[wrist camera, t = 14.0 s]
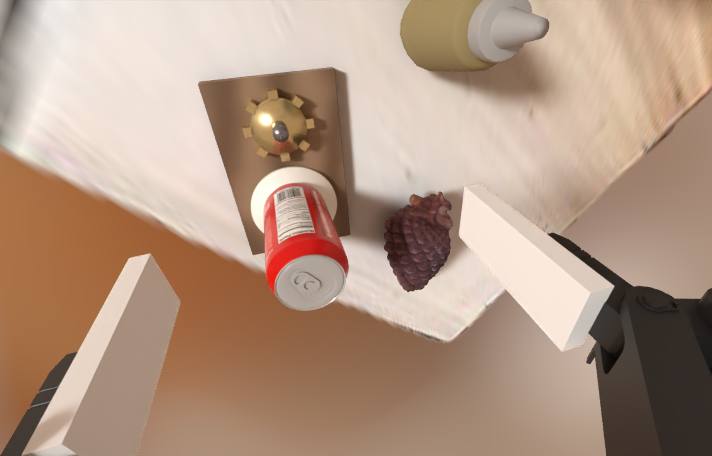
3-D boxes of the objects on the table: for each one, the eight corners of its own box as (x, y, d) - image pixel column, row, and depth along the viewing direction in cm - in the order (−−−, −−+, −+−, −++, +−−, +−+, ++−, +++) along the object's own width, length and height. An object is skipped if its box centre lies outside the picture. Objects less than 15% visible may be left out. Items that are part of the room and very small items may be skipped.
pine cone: (420, 268, 56) (447, 309, 48) (367, 274, 53) (387, 318, 45) (443, 176, 47) (482, 207, 39) (381, 177, 44) (409, 211, 36)
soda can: (291, 166, 38) (309, 234, 25) (336, 204, 42) (369, 276, 30) (249, 211, 39) (247, 294, 27) (297, 242, 43) (313, 327, 31)
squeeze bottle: (466, 35, 37) (603, 42, 23) (412, 82, 38) (508, 117, 24) (437, -38, 33) (585, -88, 18) (376, 18, 34) (468, 13, 19)
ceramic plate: (331, 158, 39) (332, 161, 39) (339, 231, 45) (340, 234, 45) (240, 173, 37) (240, 176, 37) (262, 247, 43) (262, 250, 43)
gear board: (331, 67, 35) (334, 68, 34) (347, 229, 47) (350, 234, 46) (200, 81, 33) (197, 83, 31) (253, 248, 45) (252, 255, 44)
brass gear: (306, 84, 34) (312, 90, 31) (316, 151, 38) (322, 163, 35) (234, 92, 33) (232, 100, 29) (252, 161, 37) (252, 175, 34)
